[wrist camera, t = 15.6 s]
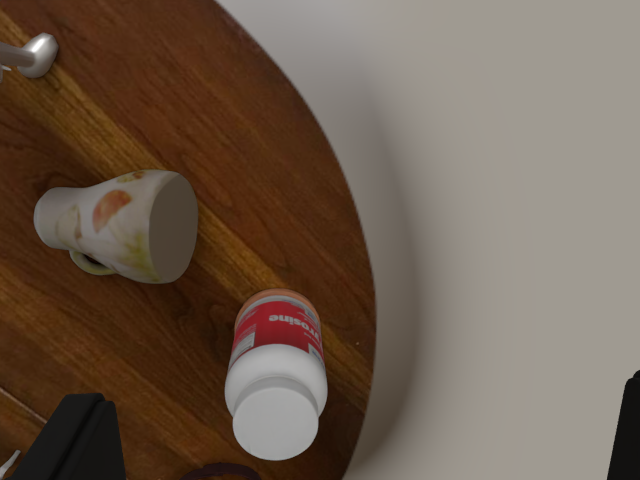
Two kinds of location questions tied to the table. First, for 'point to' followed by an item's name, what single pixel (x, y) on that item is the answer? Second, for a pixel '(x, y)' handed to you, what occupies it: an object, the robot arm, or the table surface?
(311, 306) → the coaster
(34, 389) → the table surface
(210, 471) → the watch
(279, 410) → the pill bottle
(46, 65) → the figurine
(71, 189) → the mug
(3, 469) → the grey dog statue
